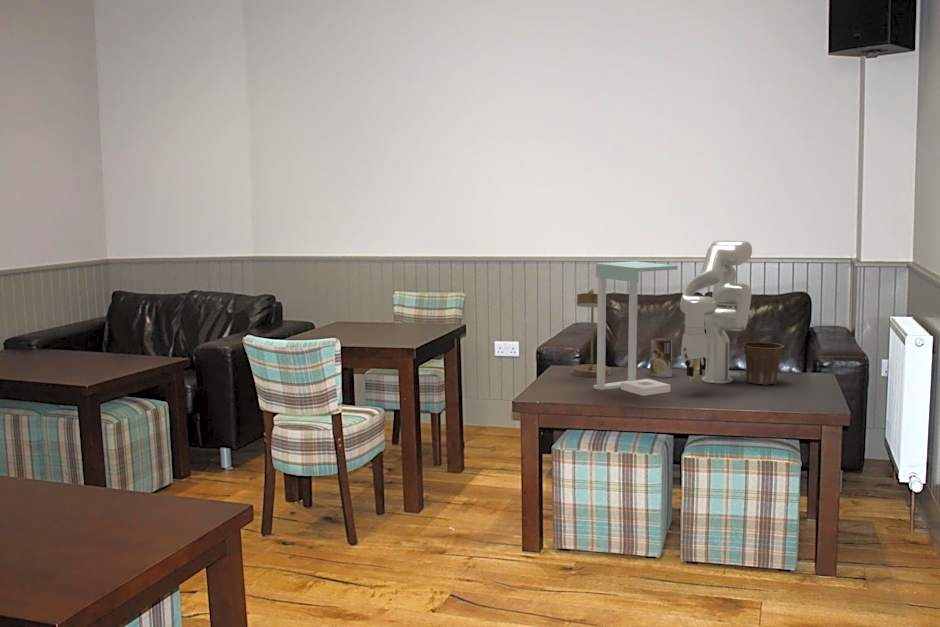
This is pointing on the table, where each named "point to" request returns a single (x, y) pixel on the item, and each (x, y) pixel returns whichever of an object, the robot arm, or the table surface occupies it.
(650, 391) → the socket
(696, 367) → the dowel
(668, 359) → the coffee box
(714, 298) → the robot arm
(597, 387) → the green-topped side table
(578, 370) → the lamp
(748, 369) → the plant pot
